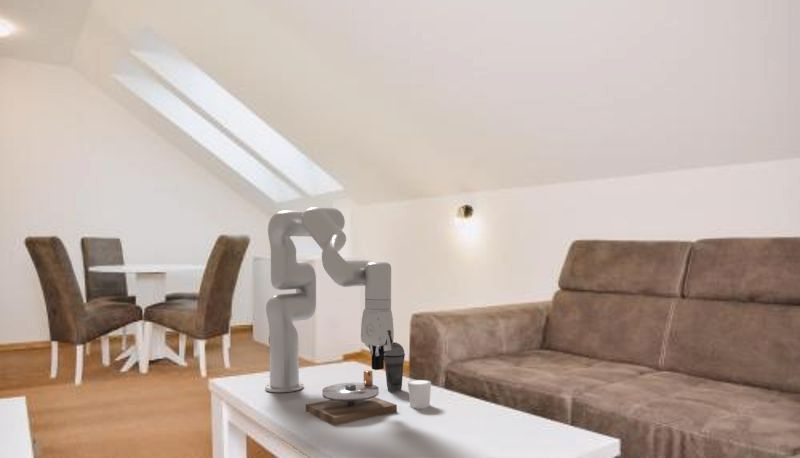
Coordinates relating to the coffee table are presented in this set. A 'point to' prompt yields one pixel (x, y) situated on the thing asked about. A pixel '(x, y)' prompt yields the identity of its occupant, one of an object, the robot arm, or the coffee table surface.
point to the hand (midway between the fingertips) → (377, 368)
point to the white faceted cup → (419, 393)
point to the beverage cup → (394, 367)
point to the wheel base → (350, 410)
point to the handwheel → (352, 390)
